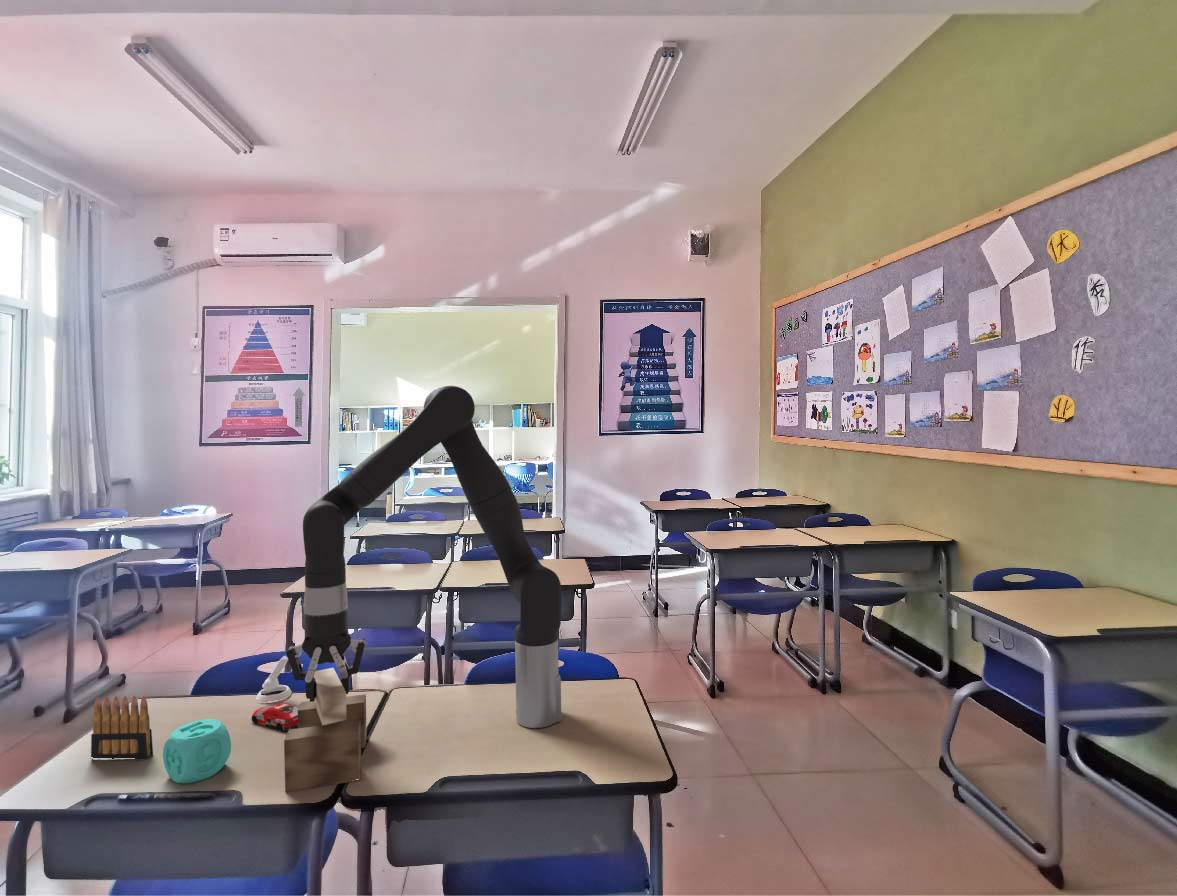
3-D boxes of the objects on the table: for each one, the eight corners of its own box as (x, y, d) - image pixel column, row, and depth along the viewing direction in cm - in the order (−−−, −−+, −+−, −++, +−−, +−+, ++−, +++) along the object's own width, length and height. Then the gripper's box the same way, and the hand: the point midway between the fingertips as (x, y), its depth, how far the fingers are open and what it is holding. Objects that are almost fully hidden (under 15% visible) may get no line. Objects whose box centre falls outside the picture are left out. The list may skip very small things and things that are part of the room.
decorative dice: (208, 756, 117) (207, 715, 117) (232, 767, 113) (231, 724, 113) (162, 776, 110) (161, 732, 110) (186, 788, 106) (184, 743, 106)
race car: (246, 723, 131) (246, 705, 131) (269, 713, 136) (269, 695, 136) (287, 735, 125) (286, 716, 125) (309, 724, 130) (309, 706, 130)
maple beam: (333, 692, 121) (333, 667, 121) (346, 719, 109) (345, 692, 109) (311, 697, 119) (311, 671, 119) (322, 725, 107) (321, 697, 107)
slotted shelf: (366, 738, 123) (365, 694, 123) (359, 780, 108) (358, 730, 108) (302, 746, 120) (301, 701, 120) (285, 791, 105) (284, 740, 104)
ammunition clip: (90, 760, 116) (88, 698, 116) (98, 755, 118) (96, 694, 118) (146, 759, 116) (145, 697, 116) (153, 754, 118) (151, 693, 118)
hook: (301, 681, 140) (273, 667, 138) (275, 720, 141) (247, 706, 140) (312, 663, 147) (286, 649, 146) (287, 700, 149) (260, 687, 147)
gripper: (368, 599, 119) (370, 685, 119) (288, 606, 115) (290, 695, 115) (365, 609, 112) (366, 701, 112) (279, 617, 108) (281, 712, 108)
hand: (328, 697), depth 114 cm, fingers closed on maple beam, 4 cm apart
